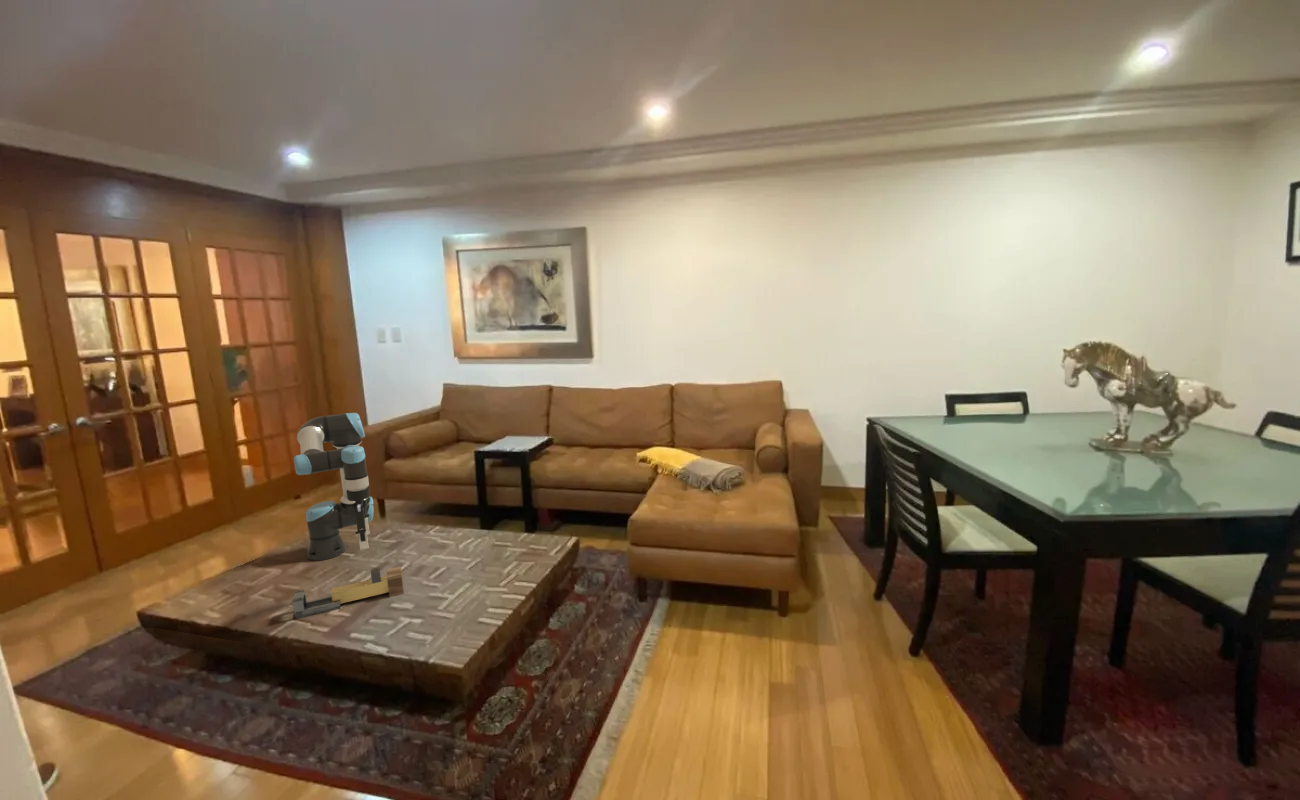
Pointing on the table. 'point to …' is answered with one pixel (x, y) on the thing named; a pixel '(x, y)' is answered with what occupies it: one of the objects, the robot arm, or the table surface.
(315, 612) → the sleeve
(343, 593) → the tan wooden bar
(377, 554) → the table surface
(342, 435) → the robot arm
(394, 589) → the socket
